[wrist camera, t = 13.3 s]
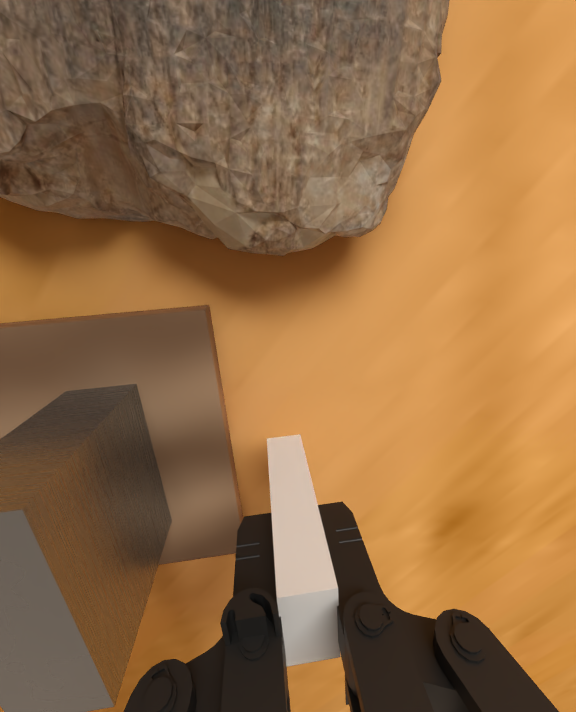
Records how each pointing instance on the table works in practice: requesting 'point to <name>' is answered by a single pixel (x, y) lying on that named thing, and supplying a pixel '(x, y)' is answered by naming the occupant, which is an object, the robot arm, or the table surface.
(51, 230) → the table surface
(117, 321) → the book board
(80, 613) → the bookend
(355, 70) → the clay tablet
